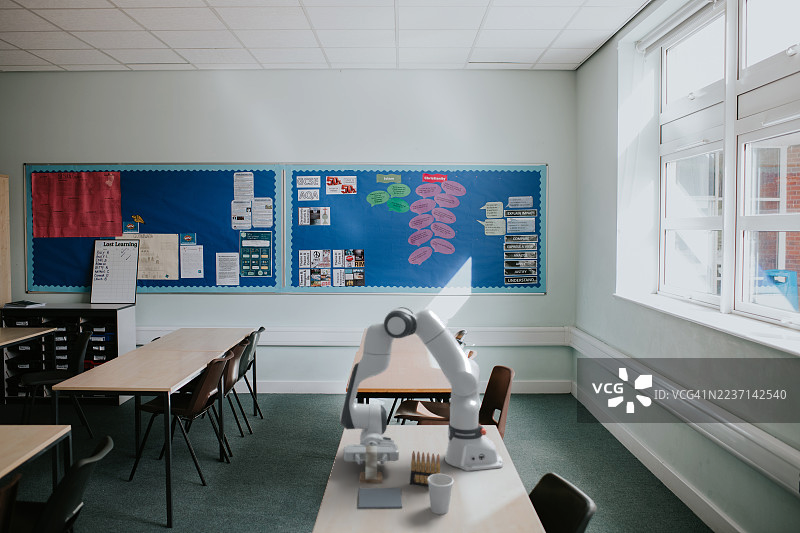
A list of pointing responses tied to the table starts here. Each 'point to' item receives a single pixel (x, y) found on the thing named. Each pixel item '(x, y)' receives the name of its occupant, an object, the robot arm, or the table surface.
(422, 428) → the table surface
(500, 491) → the table surface
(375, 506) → the slate mat
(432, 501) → the dixie cup
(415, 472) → the ammunition clip
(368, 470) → the pale pillar on plinth
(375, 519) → the table surface
